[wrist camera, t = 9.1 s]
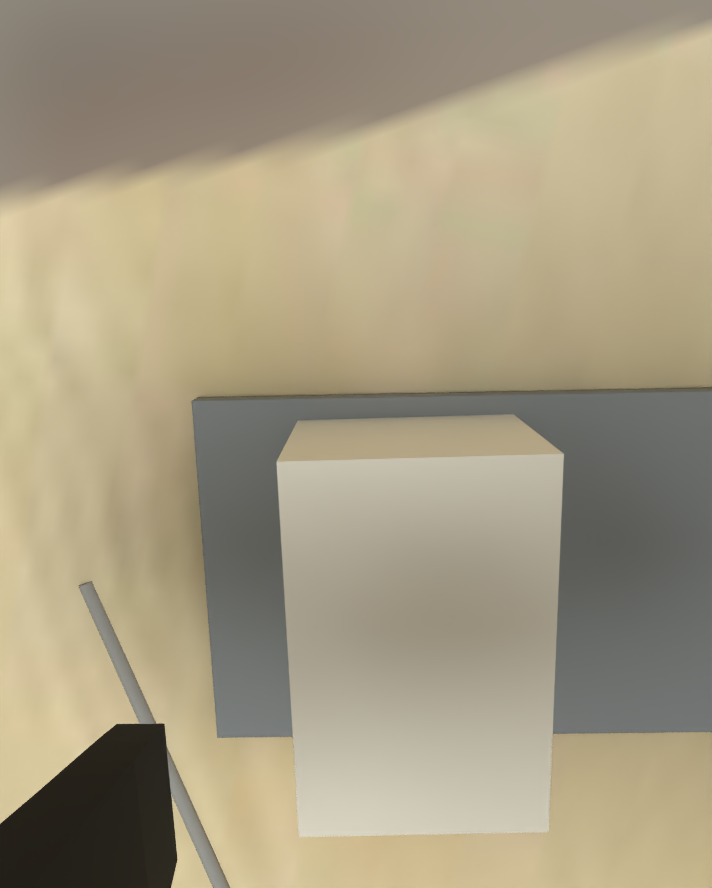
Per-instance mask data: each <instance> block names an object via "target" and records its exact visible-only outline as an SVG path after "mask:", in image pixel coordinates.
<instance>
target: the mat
mask: <svg viewBox="0 0 712 888" xmlns="http://www.w3.org/2000/svg"><path fill="white" fill-rule="evenodd" d="M192 411H193V424H194V437H195V450H196V463H197V476H198V489H199V502H200V515H201V529H202V542H203V555H204V568H205V581H206V594H207V607H208V620H209V633H210V646H211V659H212V673H213V686H214V699H215V712H216V725H217V738H228V737H293V732H292V715H291V698H290V681H289V664H288V648H287V631H286V614H285V597H284V580H283V564H282V547H281V530H280V513H279V497H278V480H277V463H276V462H277V460H278V458H279V456H280V454H281V452H282V450H283V448H284V446H285V444H286V442H287V440H288V438H289V436H290V435H291V433H292V431H293V429H294V427H295V425H296V423H297V421H298V420H330V419H365V418H400V417H434V416H469V415H504V414H514V415H515V416H516V417H518V418H519V419H520V420H521V421H523V422H524V423H525V424H527V425H528V426H529V427H530V428H532V429H533V430H534V431H535V432H537V433H538V434H539V435H541V436H542V437H543V438H544V439H546V440H547V441H548V442H549V443H551V444H552V445H553V446H555V447H556V448H557V449H558V450H560V451H561V452H562V453H563V454H564V464H563V489H562V513H561V538H560V563H559V588H558V613H557V638H556V663H555V687H554V712H553V734H568V733H653V732H712V388H673V389H620V390H567V391H513V392H460V393H407V394H353V395H300V396H247V397H198V398H196V399H194V400H193V401H192Z"/></svg>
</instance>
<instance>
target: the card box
mask: <svg viewBox="0 0 712 888" xmlns="http://www.w3.org/2000/svg"><path fill="white" fill-rule="evenodd" d="M276 463H277V480H278V497H279V513H280V530H281V547H282V564H283V580H284V597H285V614H286V631H287V648H288V664H289V681H290V698H291V715H292V732H293V748H294V765H295V782H296V799H297V816H298V832H299V837H320V836H373V835H427V834H480V833H534V832H549V812H550V787H551V762H552V737H553V712H554V687H555V663H556V638H557V613H558V588H559V563H560V538H561V513H562V489H563V464H564V454H563V453H562V452H561V451H560V450H558V449H557V448H556V447H555V446H553V445H552V444H551V443H549V442H548V441H547V440H546V439H544V438H543V437H542V436H541V435H539V434H538V433H537V432H535V431H534V430H533V429H532V428H530V427H529V426H528V425H527V424H525V423H524V422H523V421H521V420H520V419H519V418H518V417H516V416H515V415H514V414H504V415H469V416H434V417H400V418H365V419H330V420H298V421H297V423H296V425H295V427H294V429H293V431H292V433H291V435H290V436H289V438H288V440H287V442H286V444H285V446H284V448H283V450H282V452H281V454H280V456H279V458H278V460H277V462H276Z"/></svg>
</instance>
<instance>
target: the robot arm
mask: <svg viewBox="0 0 712 888" xmlns="http://www.w3.org/2000/svg"><path fill="white" fill-rule="evenodd" d="M176 863H177V851H176V841H175V830H174V820H173V809H172V799H171V788H170V778H169V768H168V757H167V747H166V736H165V726H164V724H116V725H115V726H114V727H113V728H111V729H110V730H109V731H108V732H106V733H105V734H104V735H103V736H102V737H100V738H99V739H98V740H97V741H96V742H95V743H93V744H92V745H91V746H90V747H89V748H88V749H86V750H85V751H84V752H83V753H82V754H81V755H80V756H78V757H77V758H76V759H75V760H74V761H73V762H72V763H70V764H69V765H68V766H67V767H66V768H65V769H64V770H62V771H61V772H60V773H59V774H58V775H57V776H56V777H54V778H53V779H52V780H51V781H50V782H49V783H48V784H46V785H45V786H44V787H43V788H42V789H41V790H39V791H38V792H37V793H36V794H35V795H34V796H32V797H31V798H30V799H29V800H28V801H27V802H25V803H24V804H23V805H22V806H21V807H20V808H18V809H17V810H16V811H15V812H14V813H13V814H11V815H10V816H9V817H8V818H7V819H5V820H4V821H3V822H2V823H1V824H0V888H171V885H172V880H173V876H174V872H175V867H176Z"/></svg>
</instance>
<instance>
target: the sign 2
mask: <svg viewBox="0 0 712 888" xmlns="http://www.w3.org/2000/svg"><path fill="white" fill-rule="evenodd" d="M79 588H80V591H81V593H82V595H83V597H84V600H85V602H86V604H87V606H88V609H89V611H90V613H91V615H92V618H93V620H94V622H95V624H96V626H97V629H98V631H99V633H100V635H101V638H102V640H103V642H104V644H105V647H106V649H107V651H108V653H109V656H110V658H111V660H112V662H113V665H114V667H115V669H116V671H117V673H118V676H119V678H120V680H121V682H122V685H123V687H124V689H125V691H126V694H127V696H128V698H129V700H130V703H131V705H132V707H133V709H134V712H135V714H136V716H137V718H138V720H139V723H140V724H156V722H155V720H154V718H153V716H152V713H151V711H150V709H149V707H148V704H147V702H146V700H145V698H144V696H143V693H142V691H141V689H140V687H139V685H138V682H137V680H136V678H135V676H134V673H133V671H132V669H131V667H130V665H129V662H128V660H127V658H126V656H125V654H124V652H123V649H122V647H121V645H120V643H119V641H118V638H117V636H116V634H115V632H114V630H113V627H112V625H111V623H110V621H109V619H108V616H107V614H106V612H105V610H104V608H103V605H102V603H101V601H100V599H99V597H98V594H97V592H96V590H95V588H94V586H93V584H92V582H88V583H85V584H82V585H79ZM167 757H168V768H169V778H170V788H171V794H172V797H173V799H174V801H175V803H176V806H177V808H178V810H179V812H180V815H181V817H182V819H183V821H184V823H185V826H186V828H187V830H188V832H189V835H190V837H191V839H192V841H193V844H194V846H195V848H196V850H197V853H198V855H199V857H200V859H201V862H202V864H203V866H204V868H205V870H206V873H207V875H208V877H209V879H210V882H211V884H212V886H213V888H230V887H229V885H228V882H227V880H226V878H225V876H224V873H223V871H222V869H221V867H220V864H219V862H218V860H217V858H216V855H215V853H214V851H213V849H212V847H211V844H210V842H209V840H208V838H207V835H206V833H205V831H204V829H203V826H202V824H201V822H200V820H199V817H198V815H197V813H196V811H195V809H194V806H193V804H192V802H191V800H190V797H189V795H188V793H187V791H186V789H185V786H184V784H183V782H182V780H181V778H180V775H179V773H178V771H177V769H176V766H175V764H174V762H173V760H172V758H171V755H170V753H169V751H168V749H167Z"/></svg>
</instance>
